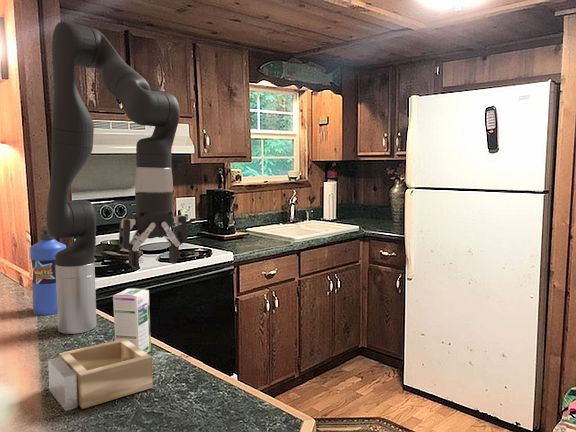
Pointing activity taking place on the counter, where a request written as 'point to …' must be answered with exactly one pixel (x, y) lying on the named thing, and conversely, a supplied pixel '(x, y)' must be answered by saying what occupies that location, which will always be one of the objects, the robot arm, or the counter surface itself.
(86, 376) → the open wooden box
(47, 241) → the water bottle
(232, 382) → the counter surface
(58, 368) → the backstop wall
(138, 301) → the syrup box
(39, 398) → the counter surface
